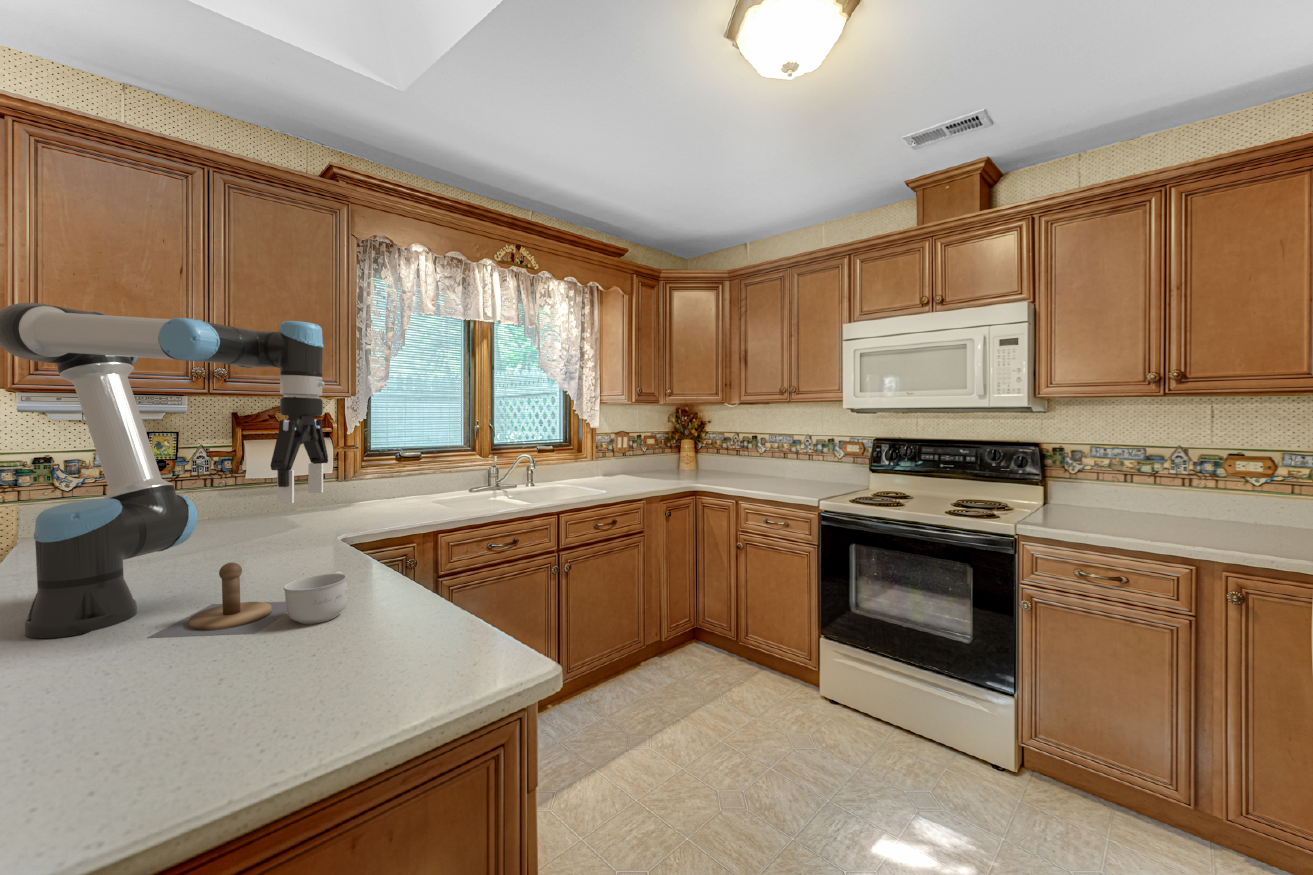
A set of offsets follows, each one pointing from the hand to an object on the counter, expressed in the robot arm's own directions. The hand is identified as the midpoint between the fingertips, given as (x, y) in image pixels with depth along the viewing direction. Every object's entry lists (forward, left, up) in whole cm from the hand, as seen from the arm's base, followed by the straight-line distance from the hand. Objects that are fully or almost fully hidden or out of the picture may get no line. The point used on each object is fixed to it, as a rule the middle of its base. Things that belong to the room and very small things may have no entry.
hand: (301, 497), depth 118 cm
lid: (-10, -7, -23) cm, 26 cm away
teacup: (+7, -7, -23) cm, 25 cm away
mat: (-10, -7, -23) cm, 26 cm away
